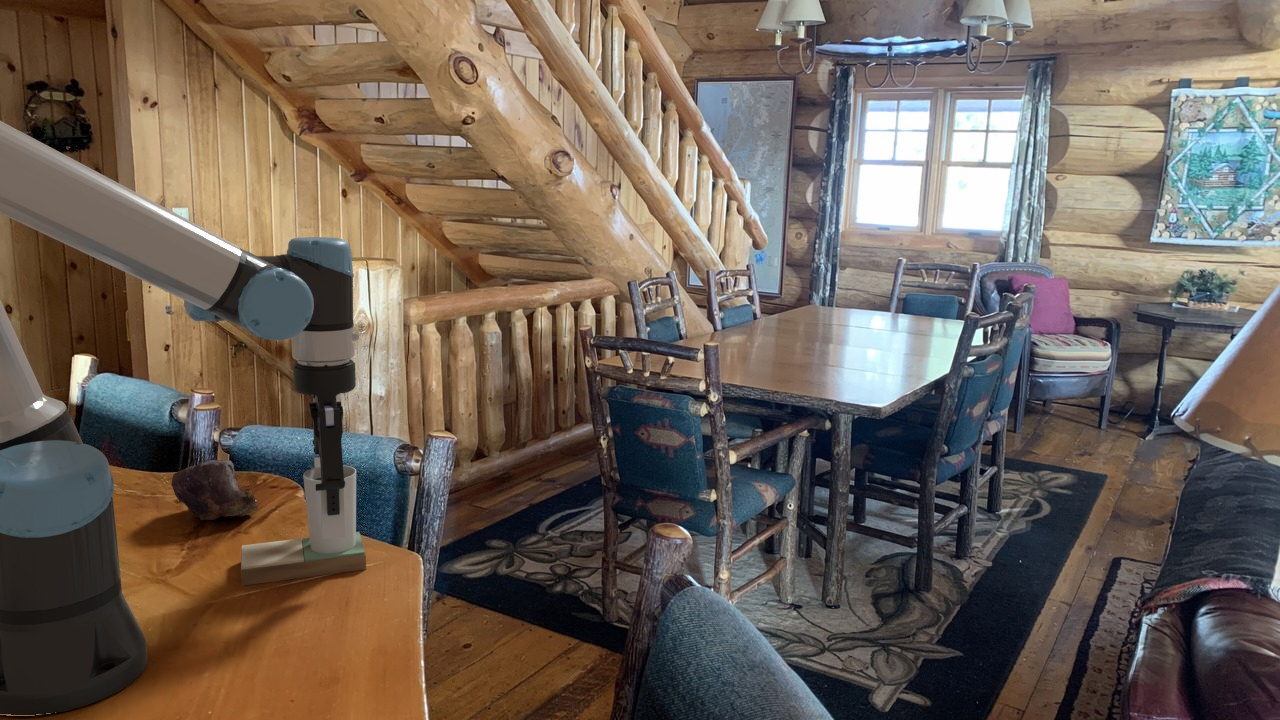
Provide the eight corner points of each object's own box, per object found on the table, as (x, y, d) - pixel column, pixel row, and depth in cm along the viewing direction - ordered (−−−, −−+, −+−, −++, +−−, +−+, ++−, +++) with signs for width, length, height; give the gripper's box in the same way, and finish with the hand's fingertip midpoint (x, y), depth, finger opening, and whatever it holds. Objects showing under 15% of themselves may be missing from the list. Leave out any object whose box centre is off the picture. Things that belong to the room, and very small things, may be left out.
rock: (236, 506, 149) (164, 520, 142) (230, 450, 149) (158, 461, 141) (266, 516, 140) (191, 532, 133) (260, 456, 140) (184, 468, 132)
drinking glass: (340, 531, 130) (337, 461, 128) (369, 544, 126) (367, 472, 124) (296, 545, 125) (292, 473, 123) (325, 559, 121) (321, 484, 119)
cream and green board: (366, 569, 124) (365, 552, 124) (241, 585, 119) (240, 568, 118) (360, 546, 131) (359, 530, 131) (242, 560, 126) (241, 544, 125)
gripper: (365, 379, 111) (369, 550, 115) (346, 342, 134) (350, 486, 138) (296, 382, 108) (303, 558, 112) (289, 344, 131) (295, 491, 135)
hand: (329, 518), depth 125 cm, fingers open, 13 cm apart
